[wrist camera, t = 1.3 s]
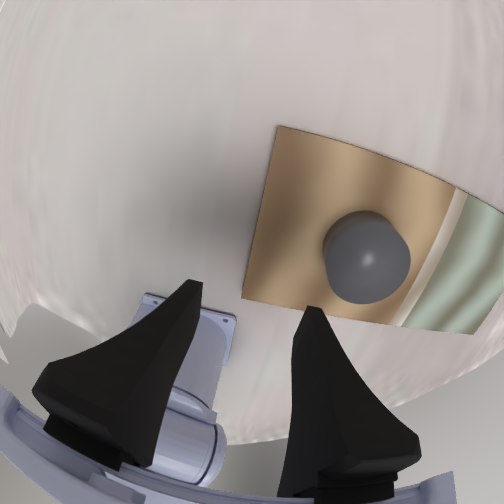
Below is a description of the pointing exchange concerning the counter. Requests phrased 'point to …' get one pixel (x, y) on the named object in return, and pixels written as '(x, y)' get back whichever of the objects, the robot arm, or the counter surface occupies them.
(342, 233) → the puck
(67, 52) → the counter surface
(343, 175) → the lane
